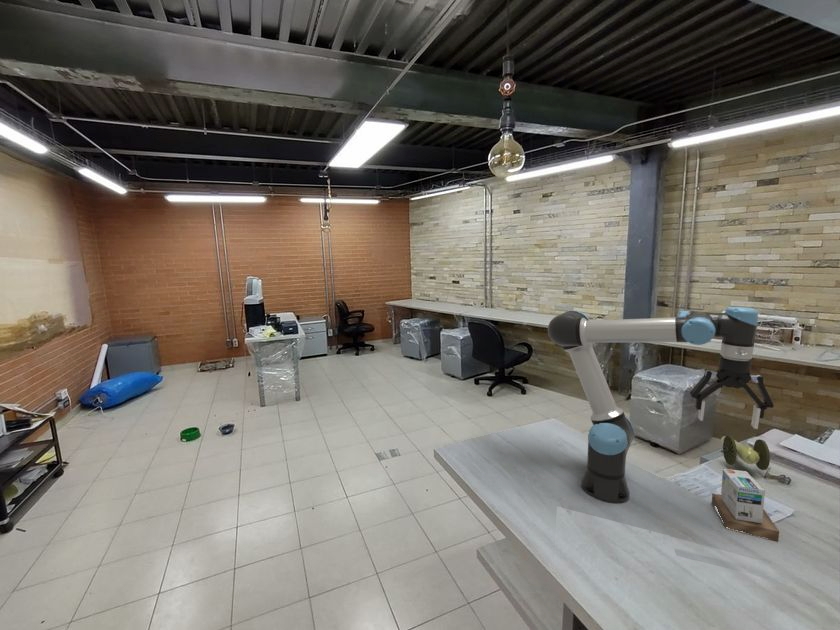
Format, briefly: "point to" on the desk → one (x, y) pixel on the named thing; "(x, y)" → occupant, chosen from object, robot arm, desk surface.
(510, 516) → the desk surface
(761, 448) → the cannon
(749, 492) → the light bulb box
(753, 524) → the walnut block
